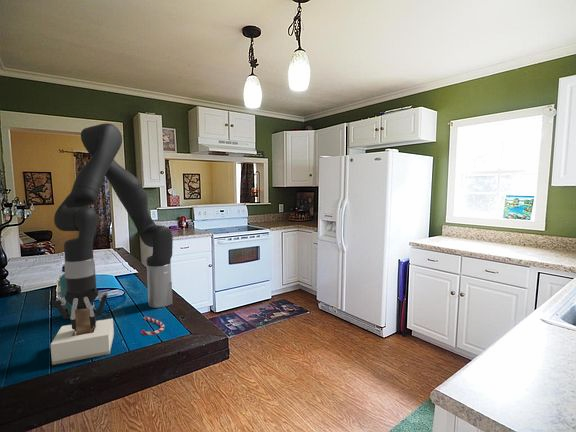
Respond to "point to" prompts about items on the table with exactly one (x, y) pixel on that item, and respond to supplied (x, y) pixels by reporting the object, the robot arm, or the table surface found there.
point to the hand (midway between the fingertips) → (84, 328)
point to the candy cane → (153, 322)
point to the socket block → (82, 343)
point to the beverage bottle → (64, 289)
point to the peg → (83, 321)
